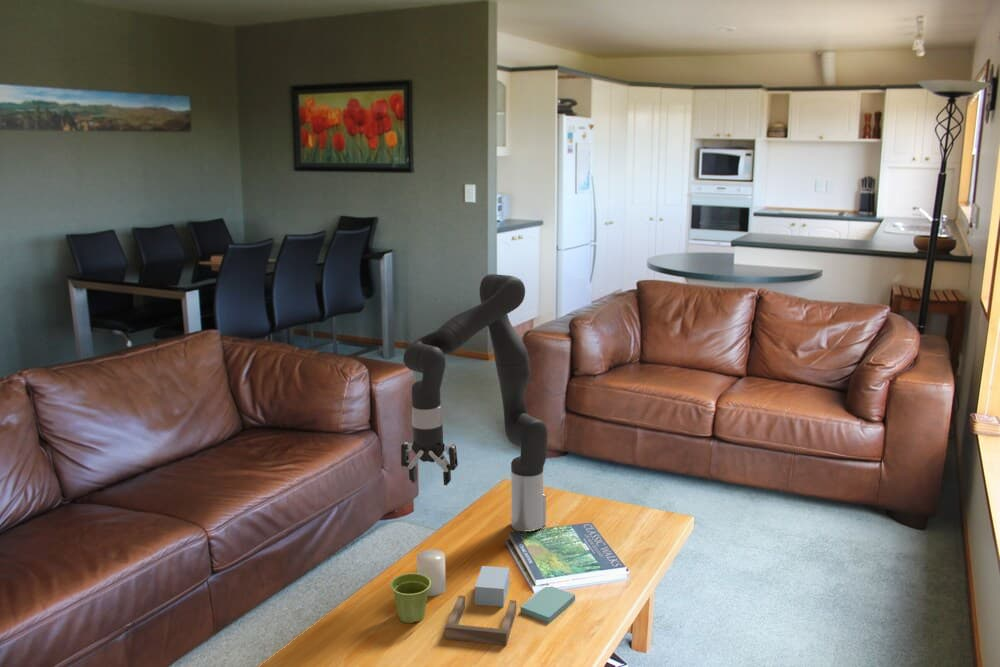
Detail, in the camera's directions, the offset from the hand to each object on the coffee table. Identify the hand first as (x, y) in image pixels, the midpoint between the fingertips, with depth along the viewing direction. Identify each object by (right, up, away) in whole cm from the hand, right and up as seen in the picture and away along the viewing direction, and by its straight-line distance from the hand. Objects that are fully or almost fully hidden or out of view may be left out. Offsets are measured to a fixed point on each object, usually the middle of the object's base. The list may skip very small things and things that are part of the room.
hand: (430, 482), depth 210 cm
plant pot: (-3, -29, -14) cm, 33 cm away
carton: (+16, -27, -5) cm, 32 cm away
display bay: (+14, -30, -17) cm, 37 cm away
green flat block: (+29, -28, -10) cm, 42 cm away
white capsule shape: (+1, -26, -2) cm, 26 cm away
